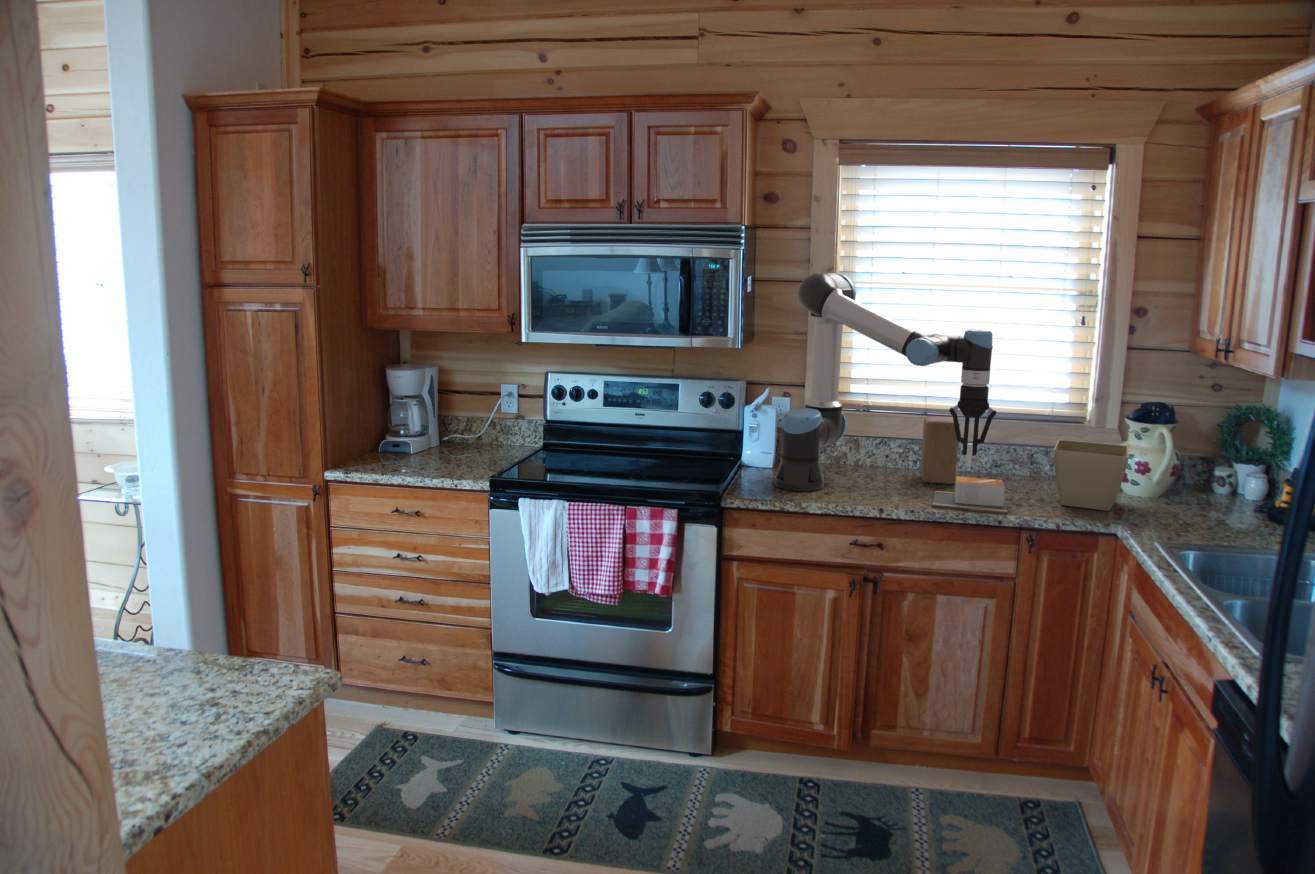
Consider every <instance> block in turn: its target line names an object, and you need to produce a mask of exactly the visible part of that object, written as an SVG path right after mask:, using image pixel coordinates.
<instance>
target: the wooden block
mask: <svg viewBox="0 0 1315 874" xmlns="http://www.w3.org/2000/svg"><path fill="white" fill-rule="evenodd" d="M959 427H960V424H959ZM922 430H923V431H922V440H921V441H922V443H921V456H920V469H919V474H920V477H921V479H922V482H923V483H926V484H944V485H945V484H946V485H947V484H948V485H953V484H955V482H956V475H957V462H958V451H959V450H958V449H959V441H957V438H956V432H955V427H954V421H953V416H951V417H950V416H931V415H930V416H929V415H928V416H924V419H923V429H922Z"/></svg>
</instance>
